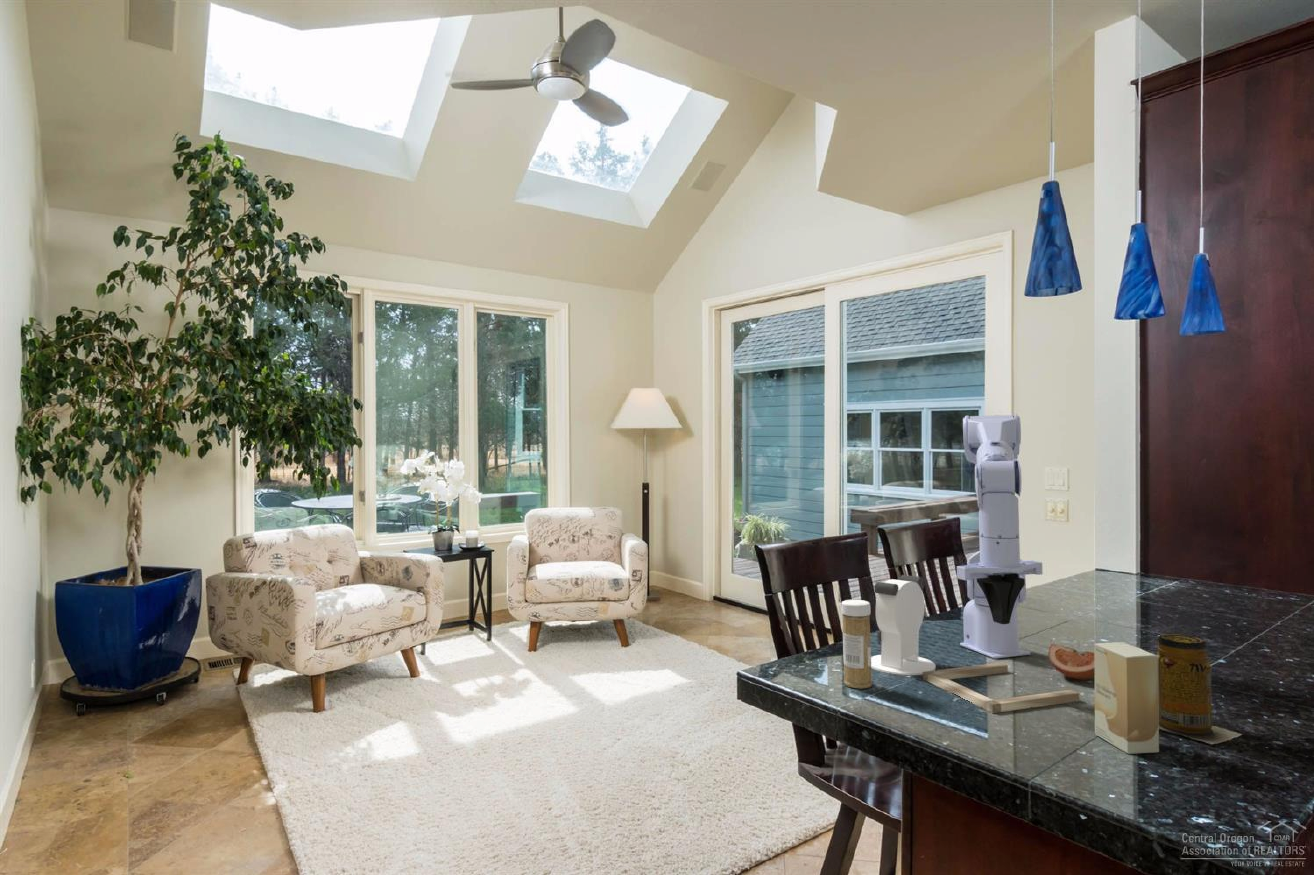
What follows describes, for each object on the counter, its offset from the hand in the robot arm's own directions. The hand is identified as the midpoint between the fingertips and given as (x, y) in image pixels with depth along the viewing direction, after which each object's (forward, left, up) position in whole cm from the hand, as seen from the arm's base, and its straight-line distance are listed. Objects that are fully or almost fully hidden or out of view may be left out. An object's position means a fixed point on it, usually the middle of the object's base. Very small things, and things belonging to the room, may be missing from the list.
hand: (1001, 622), depth 113 cm
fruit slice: (0, +15, -11) cm, 18 cm away
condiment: (+21, +12, -11) cm, 26 cm away
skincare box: (+22, 0, -11) cm, 24 cm away
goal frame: (0, 0, -10) cm, 10 cm away
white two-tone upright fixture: (-16, -7, -11) cm, 20 cm away
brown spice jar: (-9, -20, -11) cm, 25 cm away
